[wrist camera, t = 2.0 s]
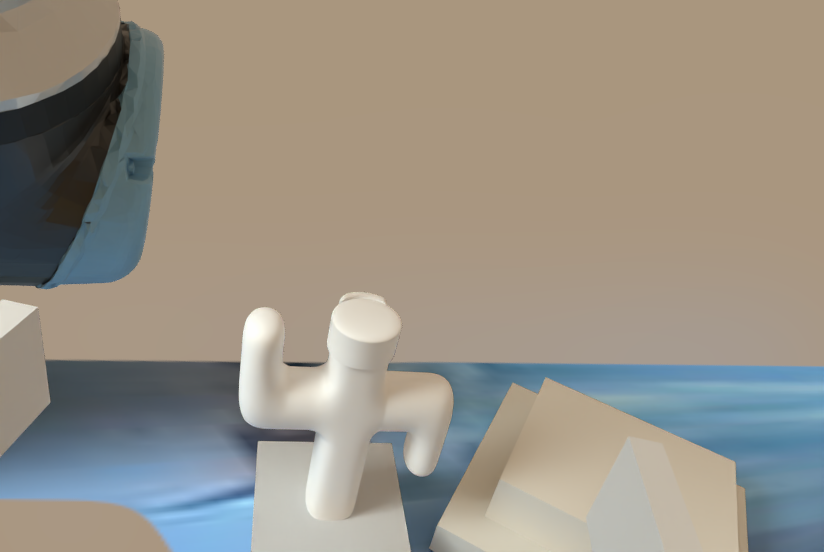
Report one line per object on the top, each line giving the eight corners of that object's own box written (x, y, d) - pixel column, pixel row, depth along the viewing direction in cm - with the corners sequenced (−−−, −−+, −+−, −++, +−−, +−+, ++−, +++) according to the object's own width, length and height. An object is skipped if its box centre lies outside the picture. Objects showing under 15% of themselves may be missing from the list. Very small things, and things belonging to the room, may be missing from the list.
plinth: (429, 548, 32) (450, 486, 30) (504, 403, 44) (525, 349, 41) (735, 720, 28) (790, 664, 25) (730, 508, 39) (768, 455, 37)
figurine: (419, 608, 29) (505, 376, 22) (219, 619, 27) (238, 364, 20) (398, 487, 35) (459, 272, 28) (232, 487, 33) (250, 253, 26)
